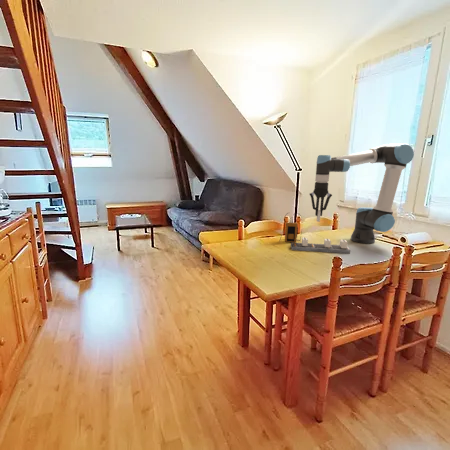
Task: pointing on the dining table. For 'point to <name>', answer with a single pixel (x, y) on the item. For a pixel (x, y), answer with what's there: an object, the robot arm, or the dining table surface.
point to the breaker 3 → (343, 244)
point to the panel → (319, 248)
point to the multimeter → (291, 231)
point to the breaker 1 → (304, 241)
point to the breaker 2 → (327, 243)
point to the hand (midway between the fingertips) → (318, 221)
